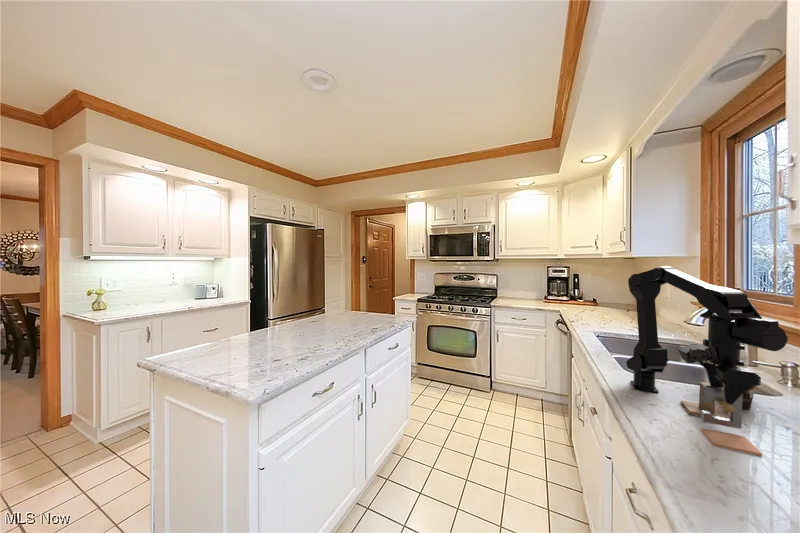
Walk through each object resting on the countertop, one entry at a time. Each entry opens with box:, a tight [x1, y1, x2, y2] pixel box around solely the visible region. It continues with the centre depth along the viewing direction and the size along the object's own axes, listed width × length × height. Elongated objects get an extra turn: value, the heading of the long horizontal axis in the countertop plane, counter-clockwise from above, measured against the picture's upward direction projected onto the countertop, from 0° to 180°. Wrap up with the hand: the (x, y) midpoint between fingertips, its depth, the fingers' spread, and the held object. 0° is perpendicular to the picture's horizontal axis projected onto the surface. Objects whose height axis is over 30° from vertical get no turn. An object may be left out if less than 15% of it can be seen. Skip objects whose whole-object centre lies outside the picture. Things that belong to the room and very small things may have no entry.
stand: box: [680, 381, 735, 419], centre depth 81 cm, size 16×9×9 cm, turn 151°
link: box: [700, 385, 743, 430], centre depth 76 cm, size 2×7×10 cm, turn 61°
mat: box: [700, 427, 763, 457], centre depth 72 cm, size 7×8×1 cm
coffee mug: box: [720, 383, 757, 411], centre depth 89 cm, size 12×9×10 cm
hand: (721, 396), depth 76 cm, fingers open, 8 cm apart
